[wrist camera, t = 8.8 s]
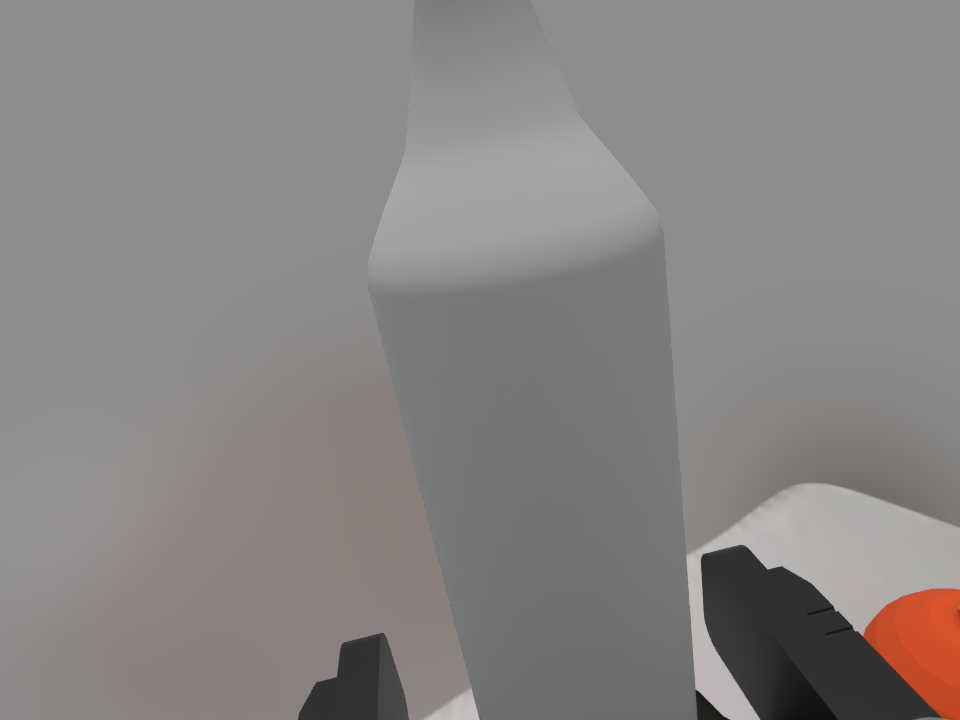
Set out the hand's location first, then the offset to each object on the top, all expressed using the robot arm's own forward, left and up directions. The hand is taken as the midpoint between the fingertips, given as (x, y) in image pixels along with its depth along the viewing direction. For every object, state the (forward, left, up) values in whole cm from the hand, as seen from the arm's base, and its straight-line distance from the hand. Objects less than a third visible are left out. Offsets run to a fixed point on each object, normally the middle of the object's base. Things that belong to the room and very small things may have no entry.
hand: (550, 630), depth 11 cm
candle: (+1, -2, -14) cm, 14 cm away
